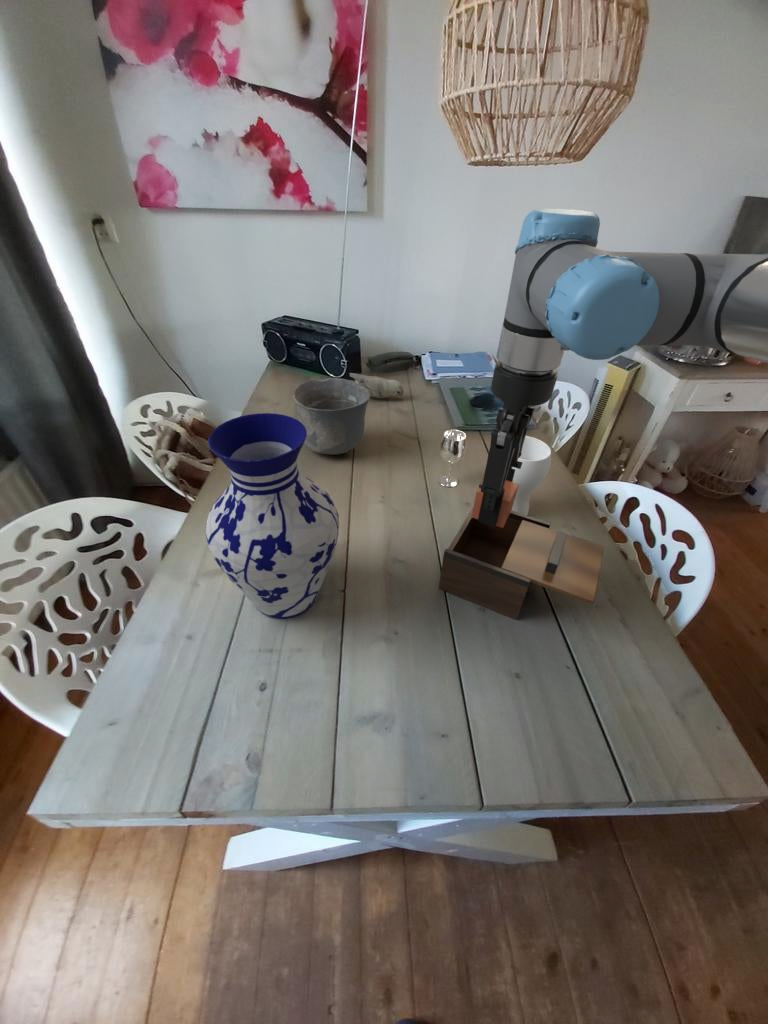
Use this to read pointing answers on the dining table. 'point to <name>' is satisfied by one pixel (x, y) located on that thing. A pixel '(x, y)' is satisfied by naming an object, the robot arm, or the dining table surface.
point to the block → (505, 505)
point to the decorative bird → (379, 386)
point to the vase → (270, 516)
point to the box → (486, 565)
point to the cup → (530, 472)
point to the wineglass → (452, 453)
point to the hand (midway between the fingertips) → (492, 512)
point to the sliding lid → (555, 561)
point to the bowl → (331, 414)
